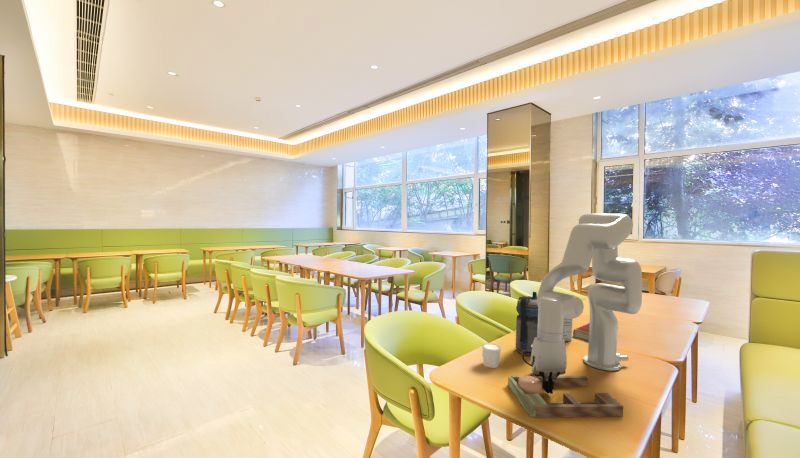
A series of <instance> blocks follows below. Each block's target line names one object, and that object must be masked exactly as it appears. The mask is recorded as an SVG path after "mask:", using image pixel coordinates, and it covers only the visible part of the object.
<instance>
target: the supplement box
mask: <svg viewBox="0 0 800 458" xmlns="http://www.w3.org/2000/svg"><path fill="white" fill-rule="evenodd" d="M563 331H564V332H566V333H567V336H564V337H563V340H564V341H566V342H567V341H568V342H572V340H573V339H572V338H573V337H572V336H573V319H564V324H563Z"/></svg>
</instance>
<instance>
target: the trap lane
mask: <svg viewBox="0 0 800 458" xmlns="http://www.w3.org/2000/svg"><path fill="white" fill-rule="evenodd" d="M521 376H524V375H522V374H521V375H518V374H517V375H511V376H509V375H508V376H507V386H508V388H510V390H511V392H512V393H513V394H514V395H515V397H516V399H517V400H518V401H519V403H520V404H521V405H522V406H523V408H524V410H525V411H526V412H527V414H529V416H530V418H578V417H579V418H584V417H585V418H588V417H589V418H591V417H598V418H599V417H600V418H601V417H604V418H605V417H624V407H625V406H624V405H623V404H622V403H620V402H619V401H618V400H617V399H615V398H614V397H613V396H612V395H610V394H609V393H608V392H601V393H600V392H597V393H596V392H595V393H594V402H590V401H589V402H583V401H582V402H579V401H578V400H577V399H576V398H575V397H574V396H573V395H572V393H567V392H566V393H563V395H562V397H563V398H562V402H546V401H545V400H544V399H543V397H542V396H541V397H540V395H539V394H525V393H524V391H523V390H522V389H521V388H520V386H519V385H518V384H519V377H521ZM532 377H535V378H538V379H539V380H541V382H543V378H542V377H541V376H535V375H532ZM588 384H589V377H588V376H587V375H559V376H558V377H557V378H556V380H555V381H554V387H588V386H589V385H588Z"/></svg>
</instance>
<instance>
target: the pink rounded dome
mask: <svg viewBox="0 0 800 458" xmlns="http://www.w3.org/2000/svg"><path fill="white" fill-rule="evenodd" d="M532 376H533V375H532ZM532 376H531V375H523V376H521V377H519V384H518V385H519V386H520V388H521V389H522V390H523V391H524V393H525V394H539V395H540V397H541V398H542V393H543V392H542V391H543V390H542V389H543V387H542V382H541V380H539V379H538V378H535V377H532Z"/></svg>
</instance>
